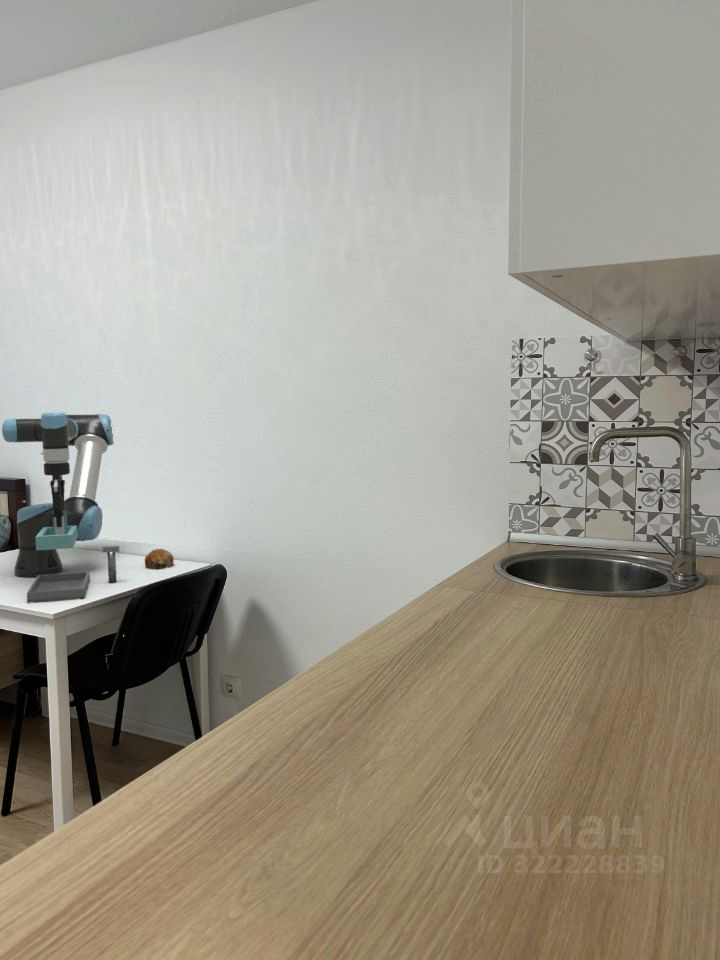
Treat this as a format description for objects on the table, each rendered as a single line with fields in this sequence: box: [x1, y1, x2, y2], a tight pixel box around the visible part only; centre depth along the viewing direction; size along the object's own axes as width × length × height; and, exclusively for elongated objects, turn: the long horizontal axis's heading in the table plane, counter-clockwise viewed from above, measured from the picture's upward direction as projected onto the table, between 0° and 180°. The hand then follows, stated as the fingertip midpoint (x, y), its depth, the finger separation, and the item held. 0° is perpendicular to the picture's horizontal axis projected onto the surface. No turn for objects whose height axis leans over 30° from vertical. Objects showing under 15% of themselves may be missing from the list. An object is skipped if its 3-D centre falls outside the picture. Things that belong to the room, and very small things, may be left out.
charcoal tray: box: [26, 571, 91, 603], centre depth 237 cm, size 24×16×3 cm, turn 15°
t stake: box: [102, 545, 120, 584], centre depth 248 cm, size 2×5×12 cm, turn 105°
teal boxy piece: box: [35, 510, 78, 550], centre depth 235 cm, size 18×10×9 cm, turn 15°
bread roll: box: [144, 548, 174, 570], centre depth 271 cm, size 10×10×8 cm
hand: (60, 536), depth 243 cm, fingers closed on teal boxy piece, 1 cm apart
